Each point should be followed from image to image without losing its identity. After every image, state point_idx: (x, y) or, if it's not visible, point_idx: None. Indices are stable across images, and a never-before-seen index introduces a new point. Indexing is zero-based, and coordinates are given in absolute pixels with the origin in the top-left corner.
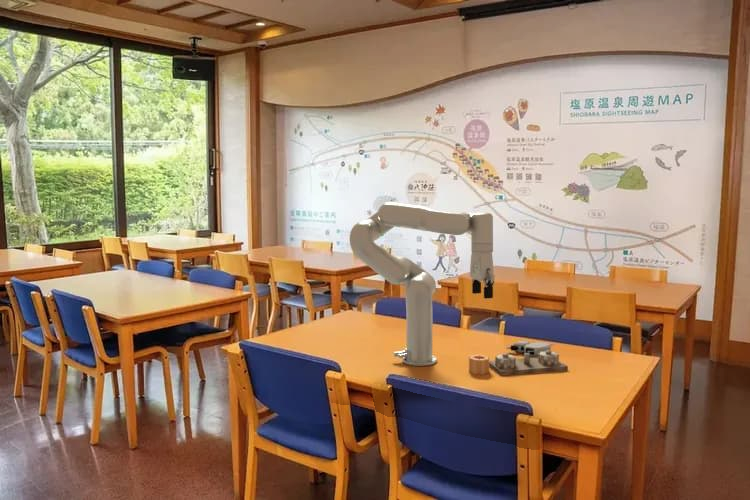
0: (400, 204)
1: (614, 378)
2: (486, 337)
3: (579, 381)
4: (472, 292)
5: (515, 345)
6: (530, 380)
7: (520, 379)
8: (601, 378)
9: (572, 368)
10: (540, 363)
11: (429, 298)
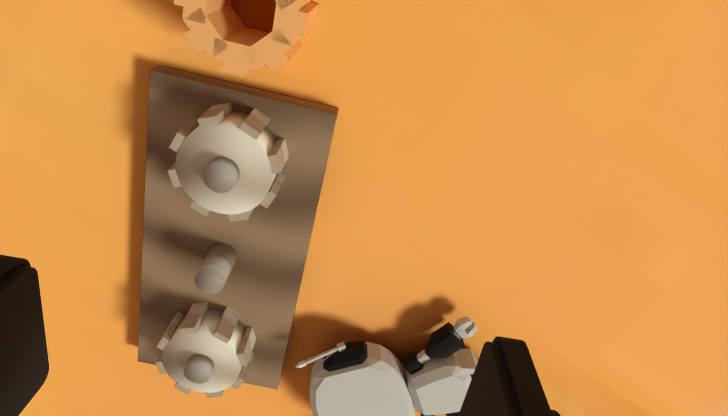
0: None
1: None
2: (723, 370)
3: None
4: (521, 345)
5: (460, 362)
6: (57, 147)
7: (81, 116)
8: None
9: (162, 374)
10: (204, 301)
11: None
